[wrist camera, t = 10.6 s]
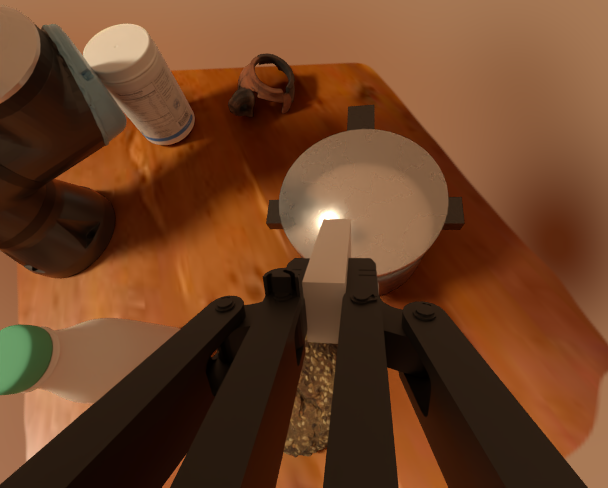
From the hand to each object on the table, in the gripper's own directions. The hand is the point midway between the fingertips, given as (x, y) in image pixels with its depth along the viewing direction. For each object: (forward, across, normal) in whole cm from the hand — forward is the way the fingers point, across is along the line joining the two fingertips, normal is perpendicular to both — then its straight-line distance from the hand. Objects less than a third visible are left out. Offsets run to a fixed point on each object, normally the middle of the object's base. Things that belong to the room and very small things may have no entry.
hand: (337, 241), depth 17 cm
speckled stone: (+10, -5, -22) cm, 25 cm away
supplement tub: (+37, -32, +6) cm, 49 cm away
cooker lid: (+17, +1, -1) cm, 17 cm away
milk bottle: (+10, -23, -21) cm, 33 cm away
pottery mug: (+40, -15, +8) cm, 43 cm away
